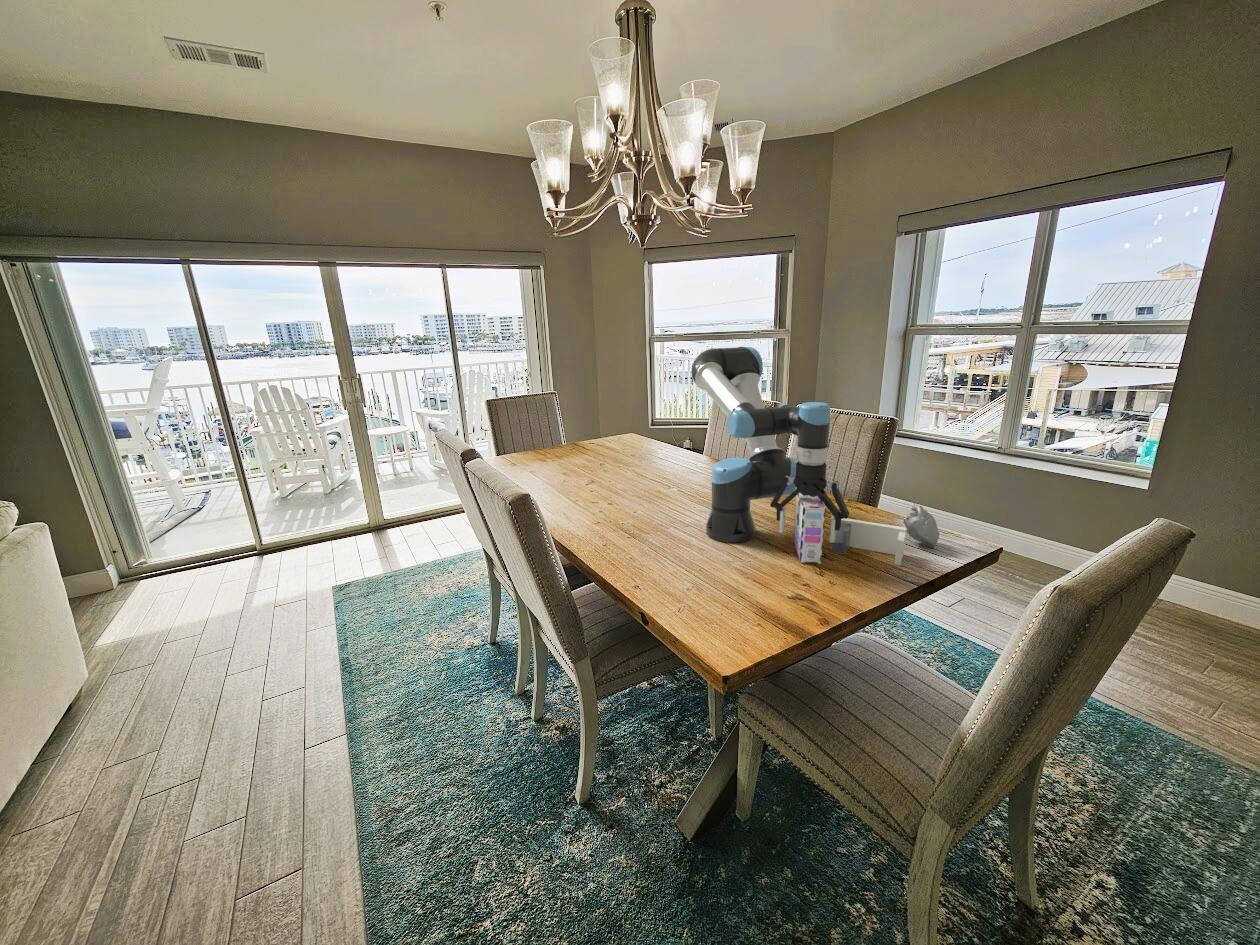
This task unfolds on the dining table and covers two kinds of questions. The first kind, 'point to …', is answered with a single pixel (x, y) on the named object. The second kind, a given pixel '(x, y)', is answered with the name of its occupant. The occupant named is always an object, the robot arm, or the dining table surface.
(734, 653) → the dining table surface
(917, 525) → the heart
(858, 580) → the dining table surface
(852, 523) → the shelf
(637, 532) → the dining table surface
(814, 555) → the candy box
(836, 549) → the bookend
